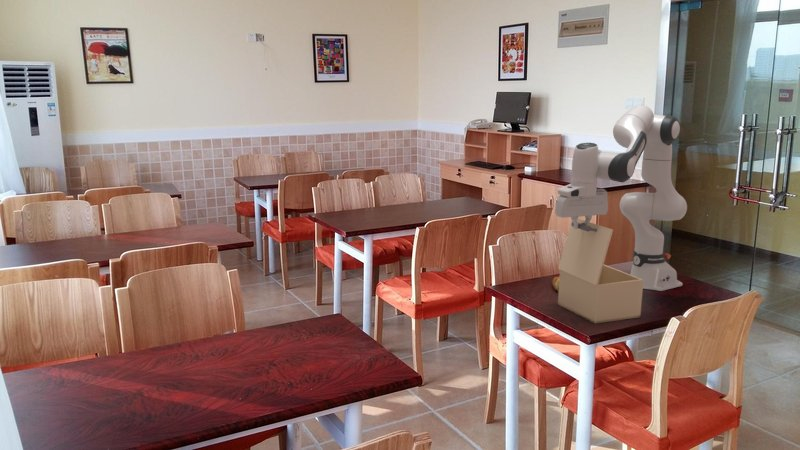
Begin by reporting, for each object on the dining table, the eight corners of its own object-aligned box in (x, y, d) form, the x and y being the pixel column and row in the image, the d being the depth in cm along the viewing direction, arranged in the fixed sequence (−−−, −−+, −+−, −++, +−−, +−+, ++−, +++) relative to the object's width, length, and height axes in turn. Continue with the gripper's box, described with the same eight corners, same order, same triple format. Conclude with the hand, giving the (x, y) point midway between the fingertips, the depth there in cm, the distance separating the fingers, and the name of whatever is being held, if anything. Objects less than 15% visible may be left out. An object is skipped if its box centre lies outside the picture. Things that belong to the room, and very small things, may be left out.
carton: (600, 298, 256) (603, 264, 253) (640, 317, 236) (643, 279, 233) (557, 304, 249) (560, 268, 246) (594, 323, 229) (597, 285, 226)
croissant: (585, 307, 257) (595, 289, 256) (566, 297, 253) (576, 279, 253) (558, 290, 277) (567, 273, 276) (540, 281, 273) (549, 264, 273)
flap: (574, 217, 244) (561, 214, 242) (613, 229, 224) (600, 226, 221) (559, 268, 246) (547, 266, 244) (597, 285, 226) (584, 282, 224)
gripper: (601, 187, 236) (598, 224, 239) (553, 189, 228) (551, 228, 231) (613, 189, 230) (610, 228, 233) (564, 192, 223) (562, 232, 226)
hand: (580, 228), depth 232 cm, fingers open, 2 cm apart
